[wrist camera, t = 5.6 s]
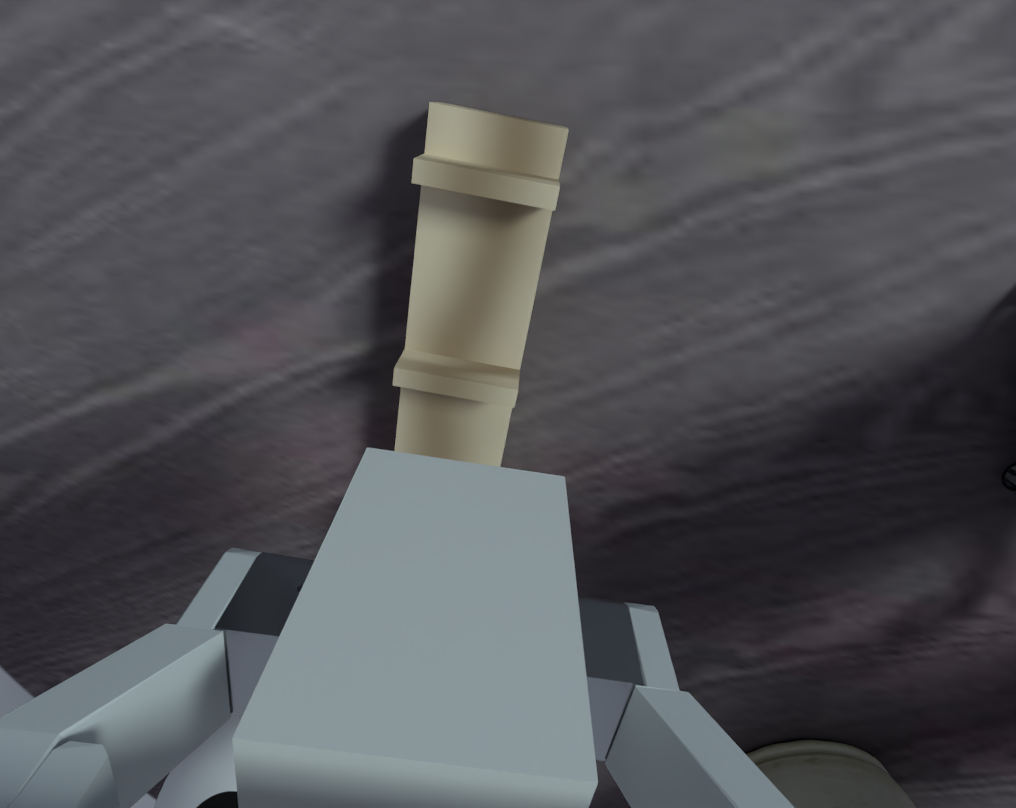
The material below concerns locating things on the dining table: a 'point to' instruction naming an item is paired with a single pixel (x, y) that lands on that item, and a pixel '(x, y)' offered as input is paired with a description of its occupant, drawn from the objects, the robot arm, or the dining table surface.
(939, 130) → the dining table surface
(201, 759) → the milk container
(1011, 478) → the coffee press
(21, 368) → the dining table surface
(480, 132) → the rail
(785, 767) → the jug
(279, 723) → the grey block
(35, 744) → the robot arm
